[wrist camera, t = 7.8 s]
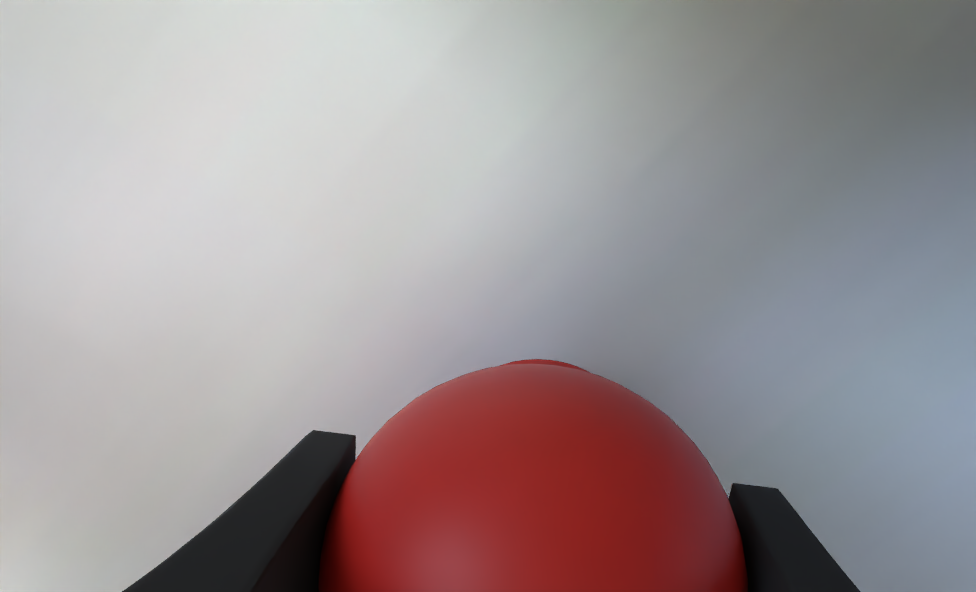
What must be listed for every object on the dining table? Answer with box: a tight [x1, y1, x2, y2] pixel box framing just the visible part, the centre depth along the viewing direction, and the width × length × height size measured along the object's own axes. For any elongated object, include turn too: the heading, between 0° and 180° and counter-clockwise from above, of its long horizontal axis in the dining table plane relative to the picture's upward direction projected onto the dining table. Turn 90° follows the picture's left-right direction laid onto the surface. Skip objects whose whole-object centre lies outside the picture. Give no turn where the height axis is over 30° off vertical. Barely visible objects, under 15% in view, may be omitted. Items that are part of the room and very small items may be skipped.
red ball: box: [318, 359, 748, 592], centre depth 11 cm, size 5×5×6 cm
